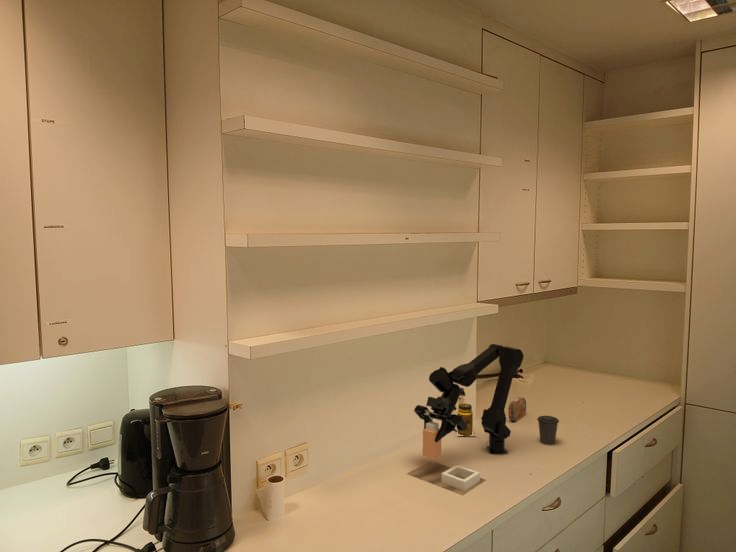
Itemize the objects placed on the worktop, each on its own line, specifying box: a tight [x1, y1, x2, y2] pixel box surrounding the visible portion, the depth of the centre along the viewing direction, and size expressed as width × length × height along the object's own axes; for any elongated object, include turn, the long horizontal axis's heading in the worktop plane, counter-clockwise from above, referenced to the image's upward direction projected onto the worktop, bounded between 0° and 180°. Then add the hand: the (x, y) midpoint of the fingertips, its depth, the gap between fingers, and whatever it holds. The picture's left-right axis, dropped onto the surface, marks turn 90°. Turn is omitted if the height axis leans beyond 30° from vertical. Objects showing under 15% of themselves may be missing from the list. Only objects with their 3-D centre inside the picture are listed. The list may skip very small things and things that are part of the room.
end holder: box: [441, 464, 481, 491], centre depth 172 cm, size 9×9×3 cm
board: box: [406, 460, 487, 496], centre depth 176 cm, size 22×14×1 cm, turn 47°
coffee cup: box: [536, 415, 560, 446], centre depth 208 cm, size 8×8×10 cm
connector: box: [422, 421, 442, 460], centre depth 179 cm, size 4×4×11 cm
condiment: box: [456, 403, 474, 436], centre depth 218 cm, size 7×8×12 cm
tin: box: [507, 397, 527, 422], centre depth 236 cm, size 15×3×8 cm, turn 143°
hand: (429, 439), depth 178 cm, fingers closed on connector, 4 cm apart
